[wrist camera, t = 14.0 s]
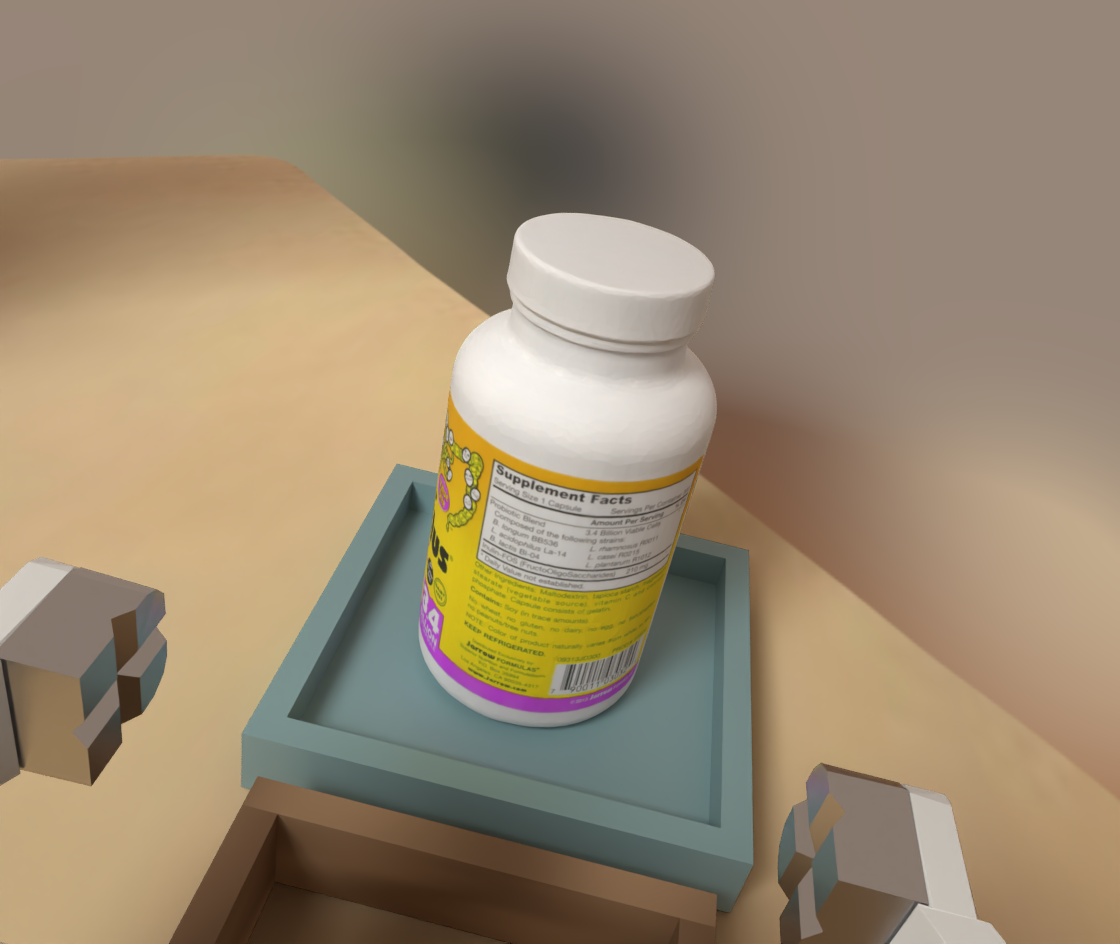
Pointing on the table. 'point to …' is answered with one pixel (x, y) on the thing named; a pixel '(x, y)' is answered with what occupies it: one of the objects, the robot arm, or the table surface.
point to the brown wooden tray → (429, 878)
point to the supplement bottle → (567, 470)
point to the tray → (520, 751)
